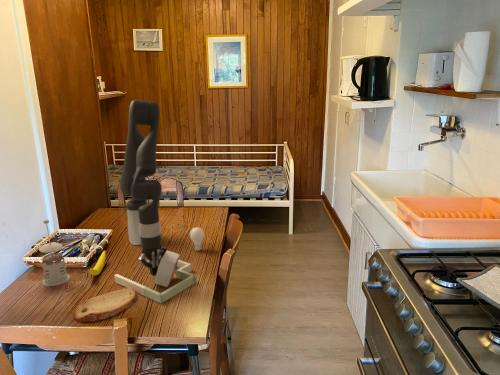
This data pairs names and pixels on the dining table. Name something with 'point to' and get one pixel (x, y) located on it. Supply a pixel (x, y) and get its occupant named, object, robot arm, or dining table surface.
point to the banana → (98, 265)
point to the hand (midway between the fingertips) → (154, 274)
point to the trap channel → (183, 273)
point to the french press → (53, 272)
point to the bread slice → (105, 305)
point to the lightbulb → (197, 237)
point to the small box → (166, 268)
